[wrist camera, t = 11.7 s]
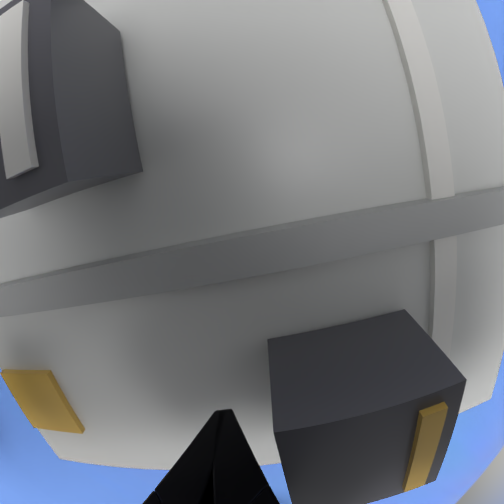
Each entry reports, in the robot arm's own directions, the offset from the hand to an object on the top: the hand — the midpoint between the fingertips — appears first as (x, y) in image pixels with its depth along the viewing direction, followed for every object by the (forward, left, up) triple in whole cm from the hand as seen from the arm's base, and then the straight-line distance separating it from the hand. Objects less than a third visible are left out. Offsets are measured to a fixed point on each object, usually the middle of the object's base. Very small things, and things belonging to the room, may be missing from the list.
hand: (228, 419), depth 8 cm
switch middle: (-3, +9, -1) cm, 9 cm away
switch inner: (+3, 0, -1) cm, 4 cm away
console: (0, +9, -4) cm, 10 cm away
